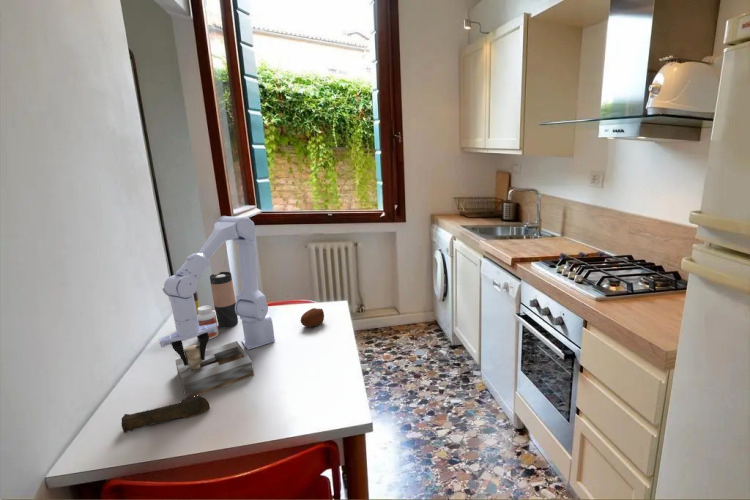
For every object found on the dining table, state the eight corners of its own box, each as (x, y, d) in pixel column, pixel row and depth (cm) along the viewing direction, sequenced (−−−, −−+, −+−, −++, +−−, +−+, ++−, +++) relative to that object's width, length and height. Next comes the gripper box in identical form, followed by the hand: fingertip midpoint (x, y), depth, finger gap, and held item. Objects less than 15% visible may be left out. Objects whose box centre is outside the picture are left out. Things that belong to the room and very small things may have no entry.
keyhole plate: (238, 353, 123) (236, 340, 122) (253, 375, 110) (251, 361, 109) (177, 373, 114) (175, 359, 112) (186, 399, 101) (183, 384, 100)
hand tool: (122, 436, 89) (117, 419, 88) (127, 425, 92) (123, 409, 91) (208, 417, 94) (205, 401, 92) (210, 407, 97) (207, 392, 96)
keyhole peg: (204, 369, 113) (199, 342, 110) (208, 377, 109) (203, 349, 106) (186, 375, 110) (180, 348, 107) (189, 383, 106) (183, 355, 104)
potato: (328, 325, 140) (327, 309, 138) (304, 332, 136) (302, 315, 134) (321, 319, 146) (320, 303, 144) (298, 325, 142) (296, 309, 140)
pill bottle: (220, 336, 136) (215, 308, 133) (202, 342, 133) (196, 312, 130) (216, 330, 141) (212, 302, 138) (199, 335, 138) (193, 307, 135)
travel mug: (234, 328, 142) (226, 277, 137) (214, 329, 142) (205, 278, 137) (241, 319, 149) (234, 271, 144) (222, 320, 150) (214, 272, 145)
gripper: (210, 306, 112) (217, 347, 115) (154, 320, 104) (164, 364, 107) (215, 313, 106) (223, 357, 109) (157, 328, 98) (167, 375, 102)
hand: (194, 361), depth 108 cm, fingers closed on keyhole peg, 4 cm apart
